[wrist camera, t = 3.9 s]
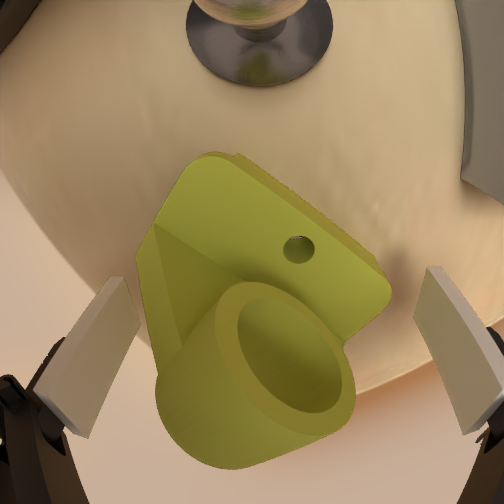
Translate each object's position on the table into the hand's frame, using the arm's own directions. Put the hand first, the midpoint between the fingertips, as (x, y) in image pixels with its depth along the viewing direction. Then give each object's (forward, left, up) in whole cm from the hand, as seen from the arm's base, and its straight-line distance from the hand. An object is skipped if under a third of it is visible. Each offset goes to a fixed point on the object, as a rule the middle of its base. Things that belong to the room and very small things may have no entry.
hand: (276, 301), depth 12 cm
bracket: (0, 0, -4) cm, 4 cm away
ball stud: (0, +11, -4) cm, 12 cm away
